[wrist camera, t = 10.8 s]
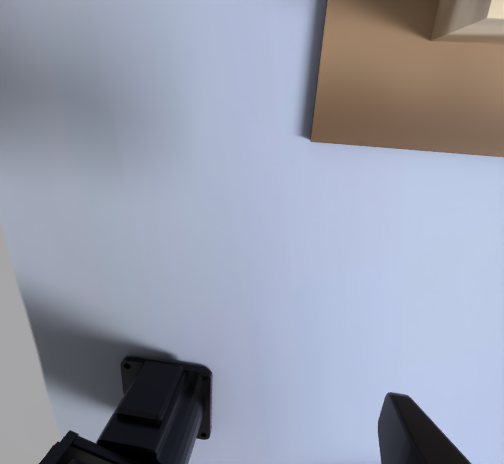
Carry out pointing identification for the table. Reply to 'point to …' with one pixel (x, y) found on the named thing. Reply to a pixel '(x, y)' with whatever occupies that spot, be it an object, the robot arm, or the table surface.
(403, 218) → the table surface
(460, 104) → the walnut board
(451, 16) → the maple cube
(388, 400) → the robot arm
